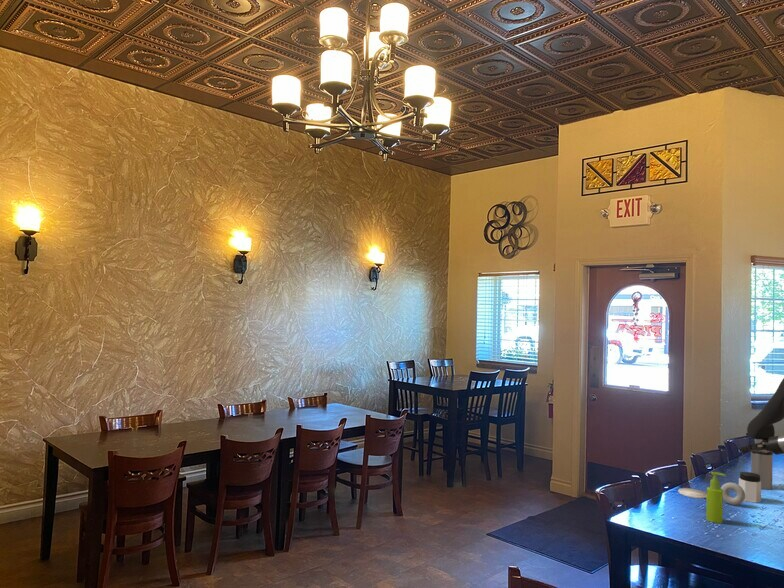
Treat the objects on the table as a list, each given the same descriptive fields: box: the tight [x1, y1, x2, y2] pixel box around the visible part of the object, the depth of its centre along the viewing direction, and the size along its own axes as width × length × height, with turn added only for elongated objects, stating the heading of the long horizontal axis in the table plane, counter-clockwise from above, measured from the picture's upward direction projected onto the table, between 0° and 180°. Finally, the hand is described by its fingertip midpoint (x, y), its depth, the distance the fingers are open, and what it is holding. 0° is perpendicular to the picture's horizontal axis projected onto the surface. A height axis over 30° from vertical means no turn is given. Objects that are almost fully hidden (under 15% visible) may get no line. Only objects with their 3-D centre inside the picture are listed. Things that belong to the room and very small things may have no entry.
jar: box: [738, 471, 762, 504], centre depth 267 cm, size 9×8×12 cm
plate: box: [677, 487, 707, 500], centre depth 273 cm, size 13×13×1 cm
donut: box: [720, 481, 745, 506], centre depth 259 cm, size 10×3×10 cm, turn 49°
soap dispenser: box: [705, 471, 727, 524], centre depth 237 cm, size 6×7×20 cm
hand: (746, 450), depth 257 cm, fingers open, 8 cm apart
